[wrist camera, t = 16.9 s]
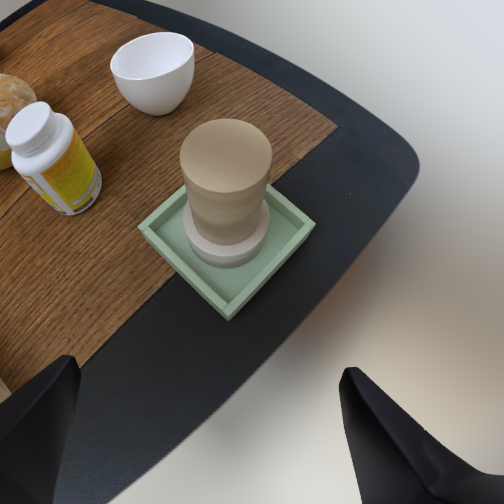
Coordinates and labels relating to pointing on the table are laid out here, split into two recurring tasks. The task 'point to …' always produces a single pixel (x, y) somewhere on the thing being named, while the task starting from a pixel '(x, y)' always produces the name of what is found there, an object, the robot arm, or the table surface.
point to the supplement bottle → (53, 159)
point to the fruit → (11, 110)
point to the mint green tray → (235, 279)
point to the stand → (3, 391)
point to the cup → (154, 71)
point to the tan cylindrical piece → (226, 191)
